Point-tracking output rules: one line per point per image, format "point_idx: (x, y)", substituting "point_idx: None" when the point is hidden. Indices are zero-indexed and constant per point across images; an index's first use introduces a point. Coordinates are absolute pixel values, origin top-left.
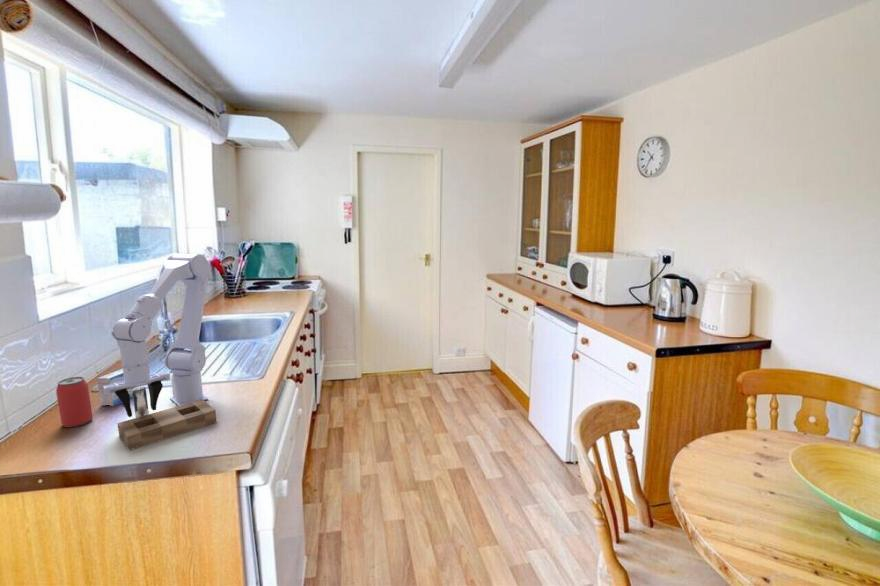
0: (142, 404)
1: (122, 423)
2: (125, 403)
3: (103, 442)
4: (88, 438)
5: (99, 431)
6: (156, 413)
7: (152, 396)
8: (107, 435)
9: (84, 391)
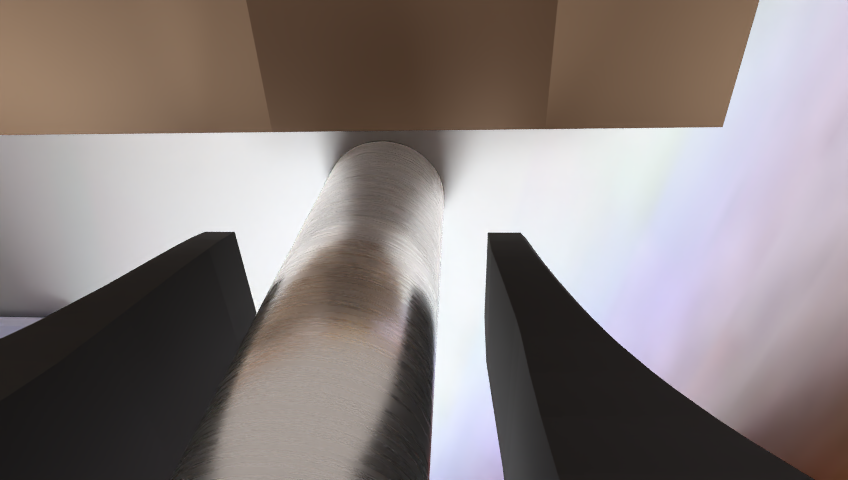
0: (317, 301)
1: (681, 58)
2: (625, 378)
3: (832, 21)
4: (842, 237)
5: (708, 311)
6: (189, 80)
7: (94, 391)
8: (711, 181)
9: None
